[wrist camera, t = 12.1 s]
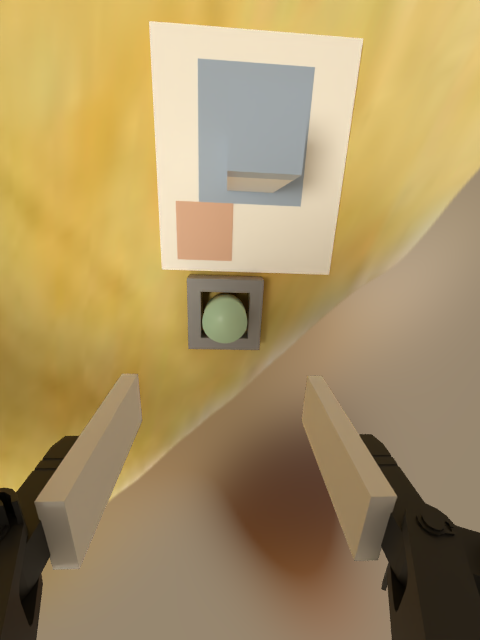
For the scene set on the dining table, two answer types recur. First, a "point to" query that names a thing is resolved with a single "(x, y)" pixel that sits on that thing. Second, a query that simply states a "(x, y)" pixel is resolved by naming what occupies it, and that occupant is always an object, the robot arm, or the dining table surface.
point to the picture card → (212, 148)
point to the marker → (266, 134)
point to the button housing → (224, 284)
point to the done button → (224, 318)
